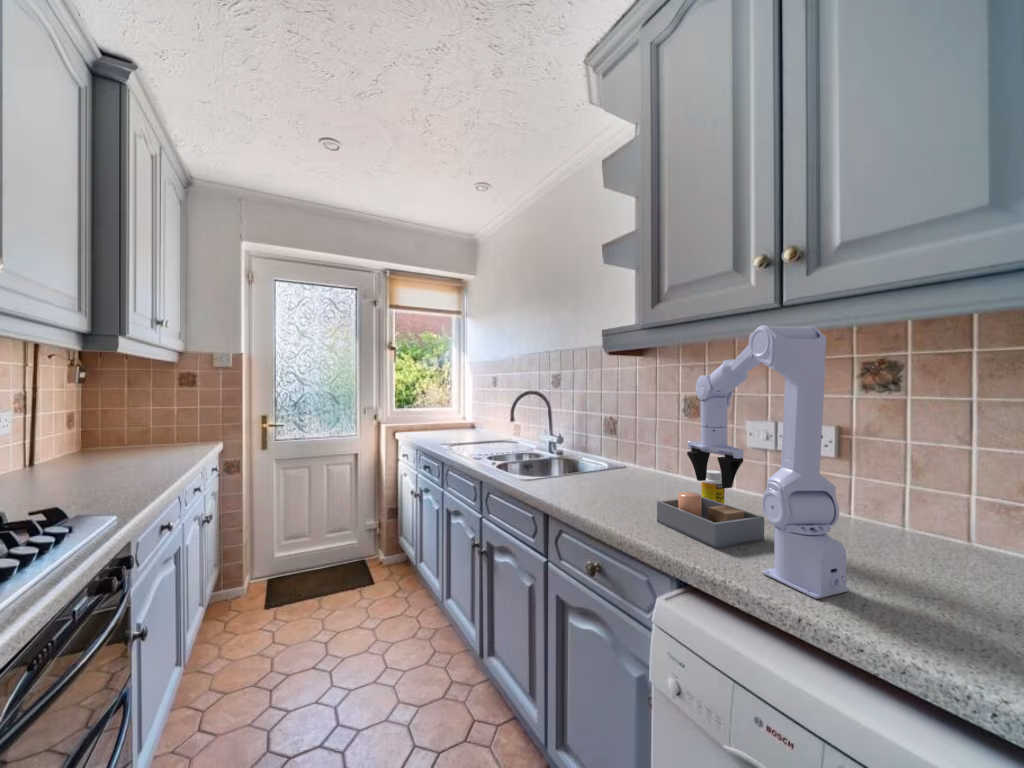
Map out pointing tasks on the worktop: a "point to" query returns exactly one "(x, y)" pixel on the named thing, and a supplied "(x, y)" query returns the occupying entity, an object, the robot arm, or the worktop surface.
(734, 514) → the walnut block
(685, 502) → the terracotta cylinder
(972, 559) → the worktop surface
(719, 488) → the supplement bottle
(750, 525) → the tote
